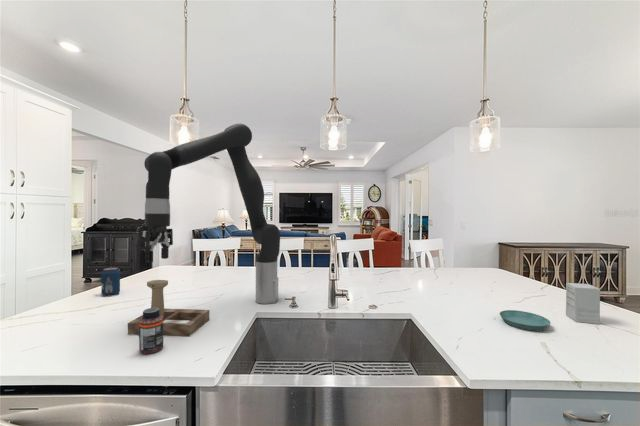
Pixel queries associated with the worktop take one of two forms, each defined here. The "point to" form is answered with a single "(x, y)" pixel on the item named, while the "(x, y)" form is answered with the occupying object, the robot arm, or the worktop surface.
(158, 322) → the supplement bottle
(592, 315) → the supplement box
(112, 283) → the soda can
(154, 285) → the handle
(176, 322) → the brown wooden frame
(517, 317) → the saucer
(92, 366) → the worktop surface
